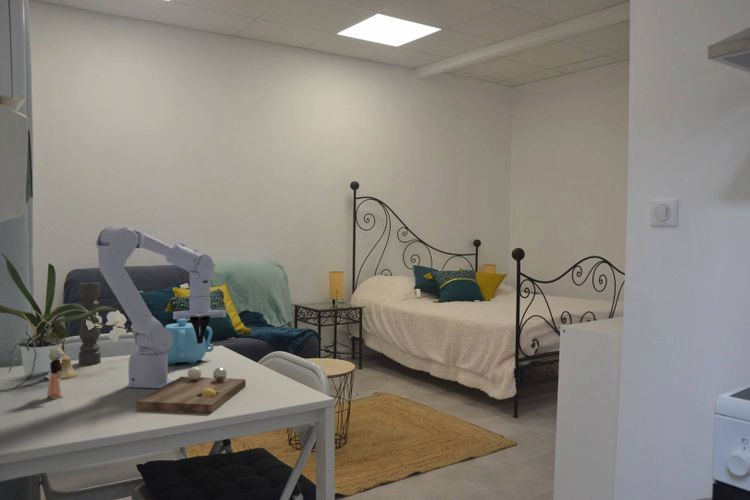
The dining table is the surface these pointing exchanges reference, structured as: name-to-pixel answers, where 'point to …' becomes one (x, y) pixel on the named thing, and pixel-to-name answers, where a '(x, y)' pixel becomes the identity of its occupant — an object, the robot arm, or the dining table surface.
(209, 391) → the ball
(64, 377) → the hand bell
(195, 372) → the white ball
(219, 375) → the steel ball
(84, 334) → the candle holder
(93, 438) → the dining table surface
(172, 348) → the decorative pot
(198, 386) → the hole plate
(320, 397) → the dining table surface
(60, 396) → the grandmother figurine
